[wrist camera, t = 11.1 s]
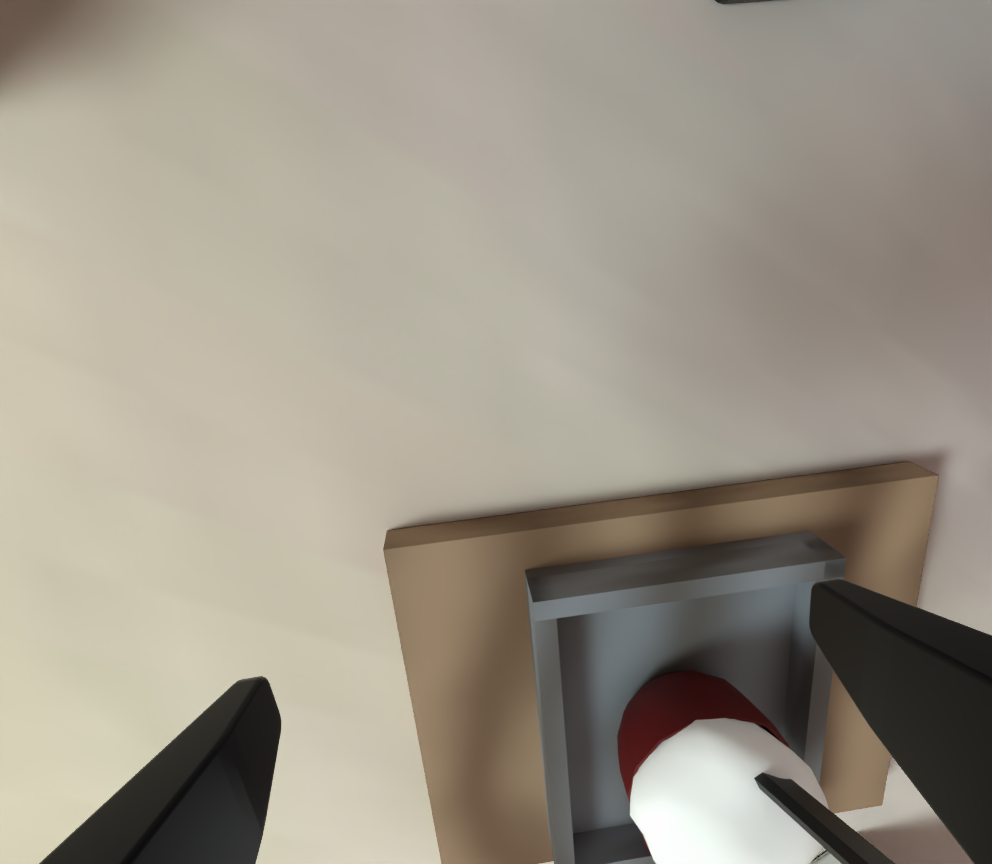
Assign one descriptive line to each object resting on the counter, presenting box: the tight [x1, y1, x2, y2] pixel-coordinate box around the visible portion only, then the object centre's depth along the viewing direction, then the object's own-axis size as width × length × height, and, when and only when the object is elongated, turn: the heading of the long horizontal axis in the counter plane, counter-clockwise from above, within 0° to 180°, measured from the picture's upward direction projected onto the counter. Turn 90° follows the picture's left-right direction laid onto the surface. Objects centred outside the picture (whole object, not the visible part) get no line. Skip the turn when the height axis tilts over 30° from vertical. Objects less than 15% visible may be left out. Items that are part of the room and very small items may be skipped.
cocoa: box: [617, 670, 895, 864], centre depth 18 cm, size 10×6×12 cm, turn 136°
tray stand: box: [383, 462, 939, 864], centre depth 24 cm, size 22×18×4 cm
